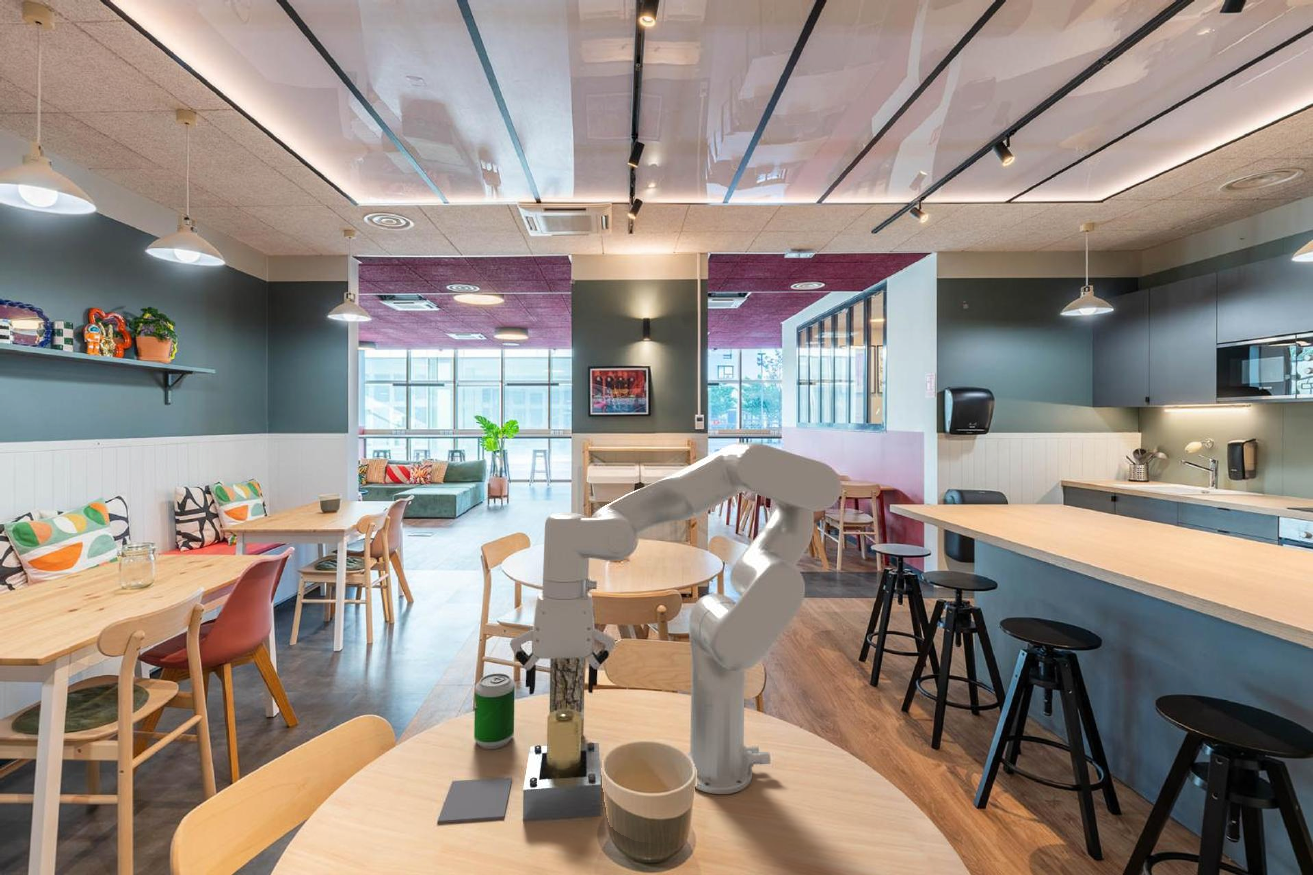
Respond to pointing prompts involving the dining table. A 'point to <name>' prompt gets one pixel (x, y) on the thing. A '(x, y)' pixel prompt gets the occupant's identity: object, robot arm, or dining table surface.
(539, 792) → the housing
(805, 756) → the dining table surface
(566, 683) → the paper tube
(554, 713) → the tan cylinder
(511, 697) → the soda can
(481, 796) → the rubber mat
